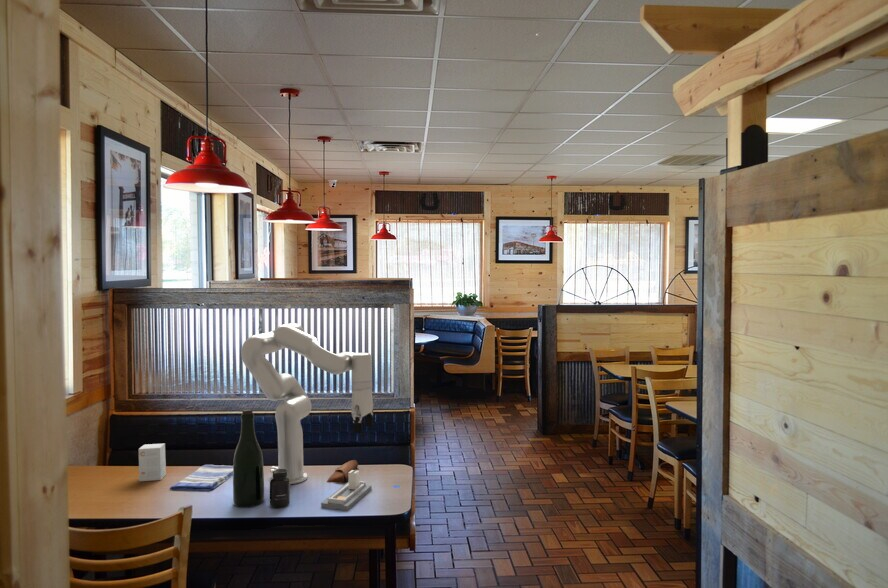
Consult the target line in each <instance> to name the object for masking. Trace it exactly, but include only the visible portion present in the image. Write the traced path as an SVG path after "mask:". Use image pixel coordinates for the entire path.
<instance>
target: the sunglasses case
mask: <svg viewBox="0 0 888 588" xmlns="http://www.w3.org/2000/svg"><path fill="white" fill-rule="evenodd" d="M358 467H359V463H358V461H357V460H356V459H352V460H349V461H347V462H345V463H344V464H342V465H340V466H338V467H337V468H335V470H334V471H333V473H332V474H331V475H330V476H329V477H328V479H327V480H326V483H331V482H338V483H337V484H340V483H339V482H342V483H341V484H346V483H348V473H349V472H350V471H351V470H357V468H358ZM345 482H346V483H345Z"/></svg>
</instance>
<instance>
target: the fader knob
mask: <svg viewBox="0 0 888 588" xmlns="http://www.w3.org/2000/svg"><path fill="white" fill-rule="evenodd" d="M359 481H360V470H357V469H356V470H351V471H350V472H349V473H348V481H347V483H349V489H355V490H356V489H357V488H358V487H359V486H360V483H359Z"/></svg>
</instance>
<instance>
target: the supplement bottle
mask: <svg viewBox="0 0 888 588" xmlns="http://www.w3.org/2000/svg"><path fill="white" fill-rule="evenodd" d="M286 476H287V470H286V469H277V470H274V471H273V473H272V478H271V479H270V481H269V506H270V508H273V509H283V508H286V507H288V506H289V505H290V503H291V484H290V479H289V478H288V477H286Z"/></svg>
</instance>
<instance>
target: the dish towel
mask: <svg viewBox="0 0 888 588" xmlns="http://www.w3.org/2000/svg"><path fill="white" fill-rule="evenodd" d="M231 478H233V465H224V464H222V465H218V464H217V465H215V464H204V465H201V466H200V467H199V468H197V470H195V471H193V472H192V473H190V474H189V475H187V476H186V477H184V478H182V479H181V480H180V481H179V482H177V483H175V484H174V485H172V486H170V487H169V489H170V490H172V491H193V492H194V491H195V492H196V491H197V492H211V491H212V490H214V489H215V488H217V487H218V486H221V485H222V484H223V483H224V482H226V481H227V480H229V479H231Z"/></svg>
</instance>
